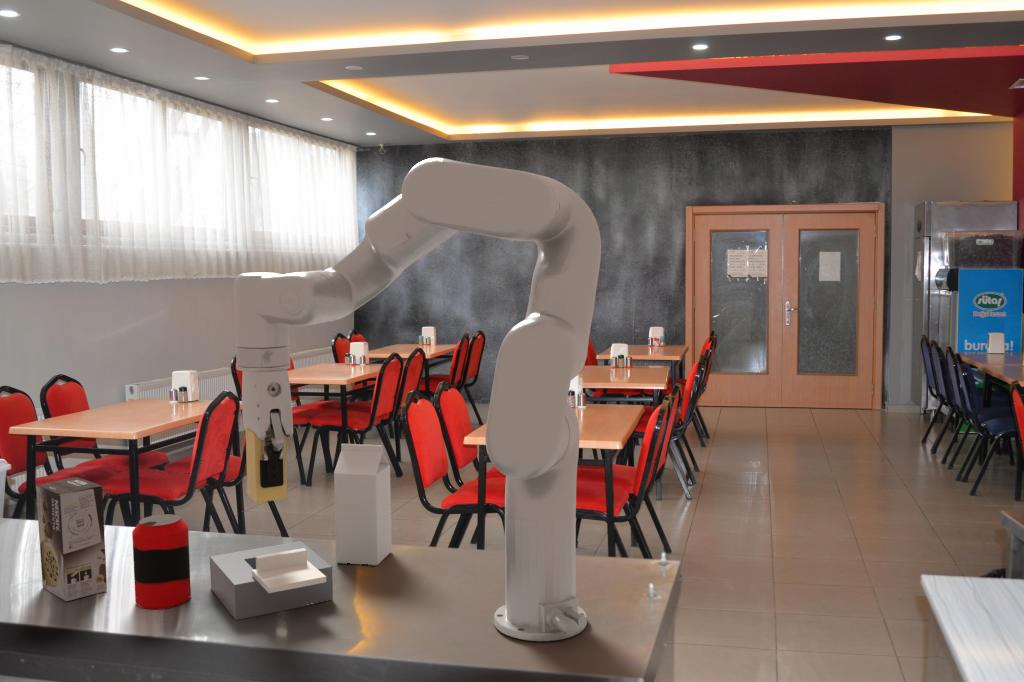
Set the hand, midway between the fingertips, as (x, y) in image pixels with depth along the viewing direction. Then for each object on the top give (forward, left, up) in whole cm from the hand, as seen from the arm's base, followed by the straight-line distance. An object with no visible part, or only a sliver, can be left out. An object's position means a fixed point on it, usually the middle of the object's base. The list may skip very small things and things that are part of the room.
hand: (266, 481), depth 137 cm
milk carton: (+8, -18, -17) cm, 26 cm away
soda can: (+6, +14, -17) cm, 23 cm away
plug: (0, 0, -2) cm, 2 cm away
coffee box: (+18, +24, -17) cm, 35 cm away
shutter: (-9, 0, -12) cm, 15 cm away
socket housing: (0, 0, -17) cm, 17 cm away
